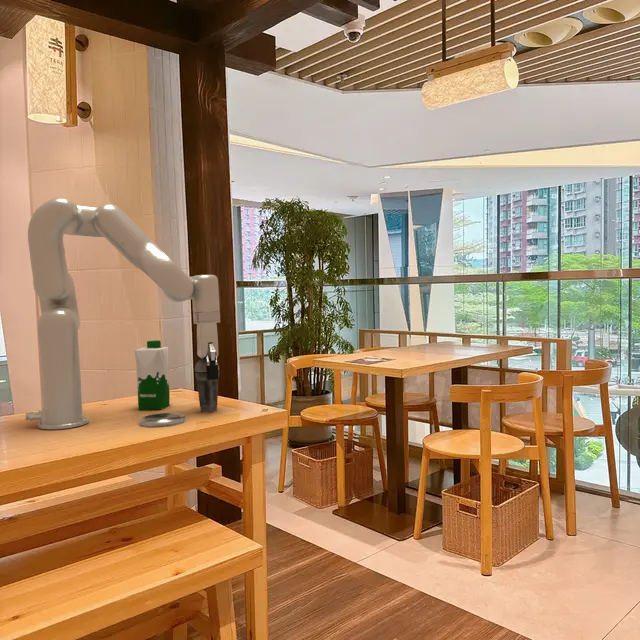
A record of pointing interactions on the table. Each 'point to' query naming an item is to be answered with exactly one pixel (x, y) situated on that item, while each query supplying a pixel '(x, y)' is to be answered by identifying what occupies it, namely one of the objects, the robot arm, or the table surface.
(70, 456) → the table surface
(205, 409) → the beverage cup
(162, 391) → the milk carton
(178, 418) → the flange plate
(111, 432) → the table surface
